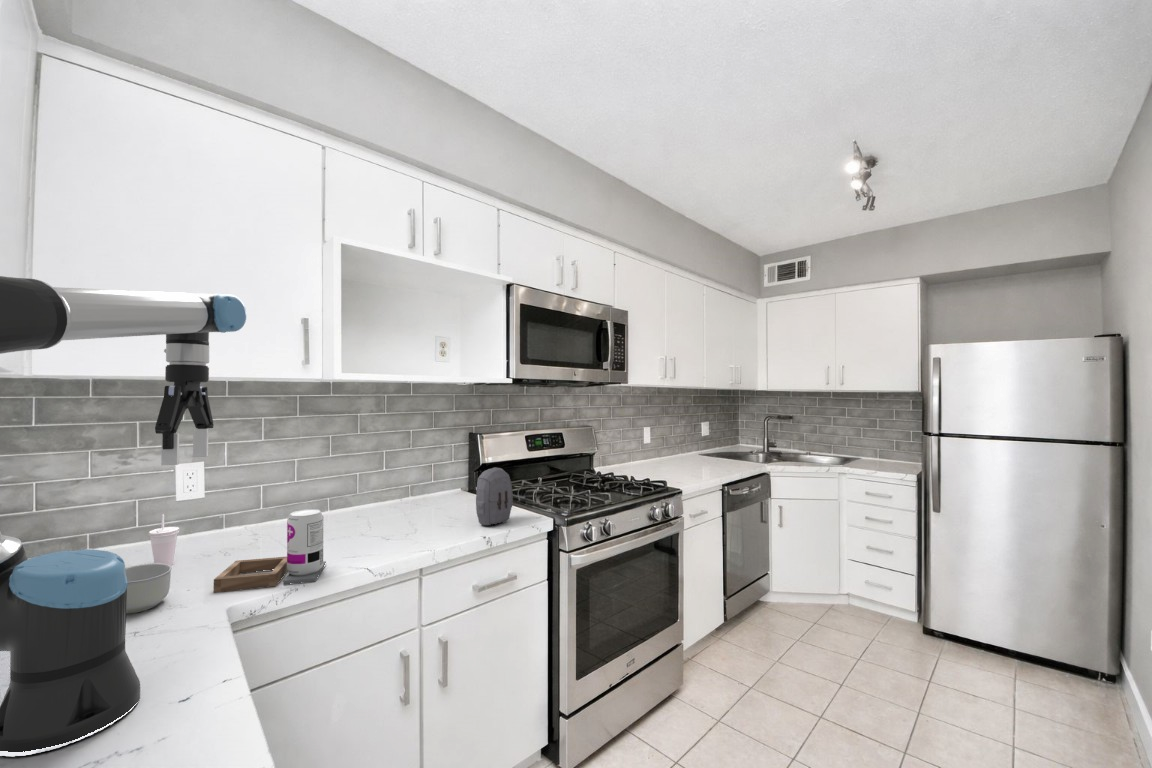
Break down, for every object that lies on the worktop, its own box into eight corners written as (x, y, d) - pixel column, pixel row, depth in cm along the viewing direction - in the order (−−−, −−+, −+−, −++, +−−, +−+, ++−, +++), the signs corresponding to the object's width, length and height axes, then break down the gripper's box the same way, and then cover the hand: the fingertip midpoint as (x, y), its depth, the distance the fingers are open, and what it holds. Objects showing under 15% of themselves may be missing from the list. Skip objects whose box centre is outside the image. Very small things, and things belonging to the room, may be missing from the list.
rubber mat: (315, 581, 121) (315, 577, 121) (283, 584, 119) (283, 580, 119) (325, 564, 133) (325, 561, 133) (297, 567, 131) (297, 563, 131)
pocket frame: (275, 586, 118) (275, 574, 118) (213, 592, 115) (213, 579, 115) (291, 567, 131) (291, 556, 131) (235, 572, 127) (235, 560, 127)
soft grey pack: (503, 517, 181) (503, 463, 182) (519, 521, 176) (519, 466, 176) (471, 526, 170) (471, 469, 170) (487, 531, 164) (487, 471, 165)
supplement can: (287, 579, 120) (287, 518, 120) (286, 568, 127) (286, 511, 127) (324, 572, 125) (324, 513, 125) (321, 562, 132) (321, 507, 132)
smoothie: (142, 570, 128) (142, 517, 128) (158, 562, 135) (159, 511, 135) (169, 569, 129) (169, 516, 129) (184, 560, 136) (185, 510, 136)
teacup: (165, 592, 115) (165, 558, 115) (176, 606, 108) (177, 569, 108) (81, 613, 104) (81, 576, 104) (88, 630, 97) (88, 589, 97)
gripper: (194, 367, 119) (193, 454, 118) (133, 360, 95) (131, 469, 94) (230, 367, 121) (228, 453, 120) (179, 361, 97) (177, 468, 96)
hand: (186, 460), depth 107 cm, fingers open, 13 cm apart
